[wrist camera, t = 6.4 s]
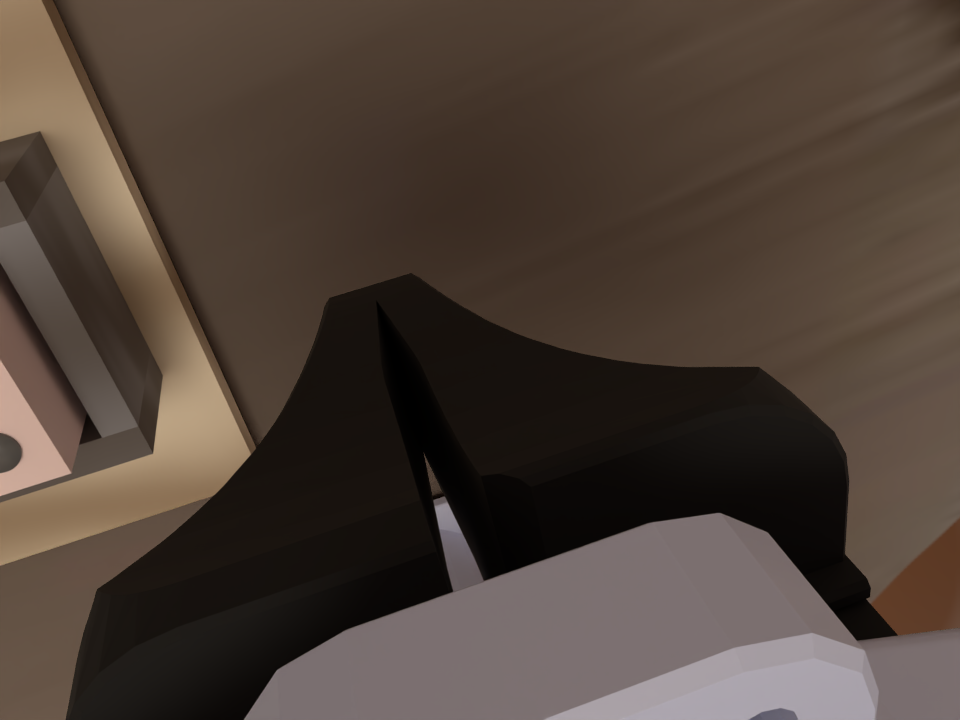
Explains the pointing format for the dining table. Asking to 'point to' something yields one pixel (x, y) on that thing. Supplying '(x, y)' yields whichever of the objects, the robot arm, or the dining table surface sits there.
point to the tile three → (32, 401)
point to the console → (100, 306)
